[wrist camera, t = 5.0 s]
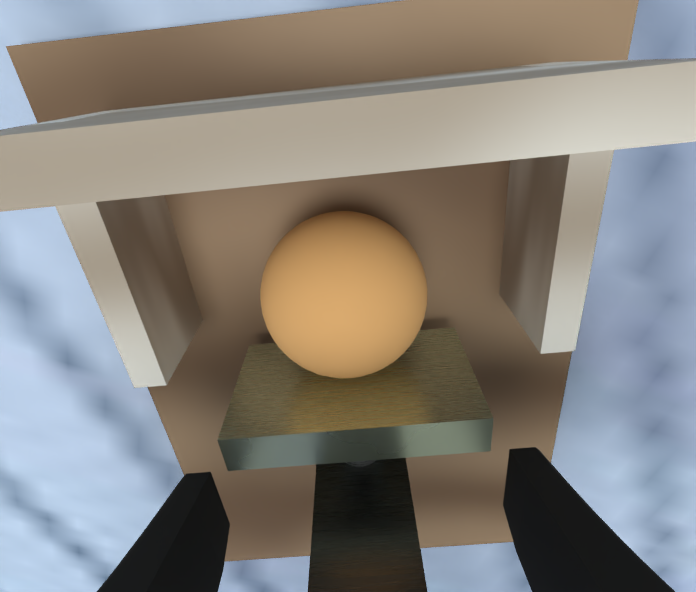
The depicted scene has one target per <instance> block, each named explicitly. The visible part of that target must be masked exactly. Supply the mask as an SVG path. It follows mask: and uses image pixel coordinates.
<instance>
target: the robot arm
mask: <svg viewBox="0 0 696 592" xmlns="http://www.w3.org/2000/svg"><path fill="white" fill-rule="evenodd" d="M503 507H504V510H505V514H506V518H507V521H508V525H509V528H510V532H511V535H512V539H513V542H514V545H515V549H516V552H517V554H518V557H519V559H520V562H521V564H522V567H523V570H524V572H525V575H526V577H527V580H528V582H529V585H530V587H531V590H532V592H675V591H674V590H673V589H672V588H671V587H670V586H669V585H667V584H666V583H665V582H664V581H663V580H662V579H661V578H660V577H659V576H658V575H657V574H656V573H655V572H654V571H653V570H652V569H651V568H650V567H649V566H648V565H647V564H646V563H644V562H643V561H642V560H641V559H640V558H639V557H638V556H637V555H636V554H635V553H634V552H633V551H632V550H631V549H630V548H629V547H628V546H627V545H626V544H625V543H624V542H623V541H622V540H621V539H620V538H619V537H618V536H617V535H616V534H615V532H614V531H613V530H612V529H611V528H610V527H609V526H608V525H607V524H606V523H605V522H604V521H603V520H602V519H601V518H600V517H599V516H598V515H597V514H596V513H595V512H594V511H593V510H592V508H591V507H590V506H589V505H588V504H587V503H586V502H585V501H584V500H583V499H582V498H581V497H580V495H579V494H578V493H577V492H576V491H575V490H574V489H573V488H572V487H571V486H570V484H569V483H568V482H567V481H566V480H565V479H564V478H563V477H562V475H561V474H560V473H559V472H558V471H557V470H556V469H555V467H554V466H553V465H552V464H551V463H550V462H549V461H548V459H547V458H546V457H545V456H544V455H543V454H542V452H541V451H540V450H539V449H537V448H536V447H529V448H516V449H510V450H509V458H508V466H507V474H506V483H505V491H504V499H503ZM229 528H230V523H229V520H228V517H227V514H226V512H225V509H224V506H223V504H222V501H221V498H220V495H219V493H218V490H217V487H216V485H215V482H214V479H213V477H212V474H211V472H201V473H187V474H185V476H184V477H183V478H182V479H181V481H180V482H179V483H178V485H177V486H176V488H175V489H174V490H173V492H172V493H171V494H170V496H169V497H168V499H167V500H166V501H165V503H164V504H163V506H162V507H161V508H160V510H159V511H158V513H157V514H156V515H155V517H154V518H153V519H152V521H151V522H150V523H149V525H148V526H147V528H146V529H145V530H144V532H143V533H142V534H141V536H140V537H139V538H138V540H137V541H136V542H135V544H134V545H133V546H132V548H131V549H130V550H129V551H128V553H127V554H126V555H125V557H124V558H123V559H122V561H121V562H120V563H119V565H118V566H117V567H116V569H115V570H114V571H113V572H112V574H111V575H110V576H109V577H108V579H107V580H106V581H105V582H104V584H103V585H102V586H101V587H100V588H99V590H98V591H97V592H218V588H219V584H220V580H221V576H222V572H223V567H224V561H225V555H226V549H227V542H228V535H229Z"/></svg>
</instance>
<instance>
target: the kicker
mask: <svg viewBox="0 0 696 592" xmlns="http://www.w3.org/2000/svg"><path fill="white" fill-rule="evenodd" d="M493 419H494V418H493V416H492V414H491V411H490V409H489V407H488V404H487V402H486V400H485V397H484V395H483V393H482V390H481V388H480V386H479V383H478V381H477V379H476V376H475V374H474V372H473V369H472V367H471V365H470V362H469V360H468V358H467V355H466V353H465V351H464V348H463V346H462V344H461V341H460V339H459V337H458V334H457V332H456V330H455V327H452V328H441V329H429V330H419V332H418V334H417V336H416V338H415V339H414V341H413V342H412V344H411V345H410V346H409V348H408V349H407V350H406V351H405V352H404V353H403V354H402V355H401V356H400V357H399V358H398V359H397V360H395V361H394V362H393V363H391V364H390V365H388V366H386V367H385V368H383V369H381V370H379V371H377V372H375V373H372V374H368V375H365V376H361V377H356V378H333V377H327V376H322V375H319V374H316V373H313V372H311V371H309V370H307V369H304V368H303V367H301V366H299V365H298V364H297V363H295V362H294V361H292V360H291V359H290V358H289V357H288V356H287V355H286V354H285V353H284V352H283V351H282V350H281V349H280V348H279V347H278V345H277V344H276V343H268V344H257V345H249V348H248V351H247V354H246V357H245V359H244V362H243V365H242V368H241V371H240V374H239V377H238V380H237V383H236V386H235V389H234V392H233V395H232V398H231V401H230V404H229V407H228V410H227V413H226V416H225V419H224V422H223V425H222V428H221V431H220V434H219V437H218V440H217V441H218V444H219V447H220V450H221V452H222V455H223V458H224V461H225V464H226V467H227V470H228V471H237V470H250V469H263V468H276V467H289V466H302V465H316V478H315V493H314V508H313V523H312V538H311V553H310V568H309V582H308V592H427V587H426V581H425V575H424V569H423V562H422V556H421V550H420V544H419V538H418V531H417V525H416V519H415V513H414V506H413V500H412V494H411V488H410V482H409V475H408V469H407V463H406V458H408V457H421V456H434V455H447V454H460V453H473V452H487V451H491V441H492V430H493Z"/></svg>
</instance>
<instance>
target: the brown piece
mask: <svg viewBox="0 0 696 592" xmlns="http://www.w3.org/2000/svg"><path fill="white" fill-rule="evenodd" d="M638 1H639V0H404V1H395V2H386V3H378V4H369V5H360V6H352V7H343V8H335V9H326V10H317V11H309V12H300V13H291V14H283V15H274V16H265V17H257V18H248V19H239V20H231V21H222V22H213V23H205V24H196V25H187V26H179V27H170V28H162V29H153V30H144V31H136V32H127V33H118V34H110V35H101V36H92V37H84V38H75V39H66V40H58V41H49V42H40V43H32V44H23V45H15V46H6V48H7V50H8V53H9V55H10V57H11V60H12V62H13V65H14V67H15V69H16V72H17V74H18V77H19V79H20V81H21V84H22V86H23V89H24V91H25V93H26V96H27V98H28V101H29V103H30V105H31V108H32V110H33V113H34V115H35V118H36V120H37V122H38V123H36V124H30V125H25V126H19V127H14V128H8V129H3V130H0V212H1V211H11V210H21V209H31V208H41V207H51V206H56V209H57V211H58V213H59V216H60V218H61V220H62V223H63V225H64V227H65V229H66V232H67V234H68V236H69V239H70V241H71V243H72V246H73V248H74V250H75V252H76V255H77V257H78V259H79V262H80V264H81V266H82V269H83V271H84V273H85V275H86V278H87V280H88V282H89V285H90V287H91V289H92V291H93V294H94V296H95V298H96V301H97V303H98V305H99V308H100V310H101V312H102V314H103V317H104V319H105V321H106V324H107V326H108V328H109V331H110V333H111V335H112V337H113V340H114V342H115V344H116V347H117V349H118V351H119V353H120V356H121V358H122V360H123V363H124V365H125V367H126V370H127V372H128V374H129V376H130V379H131V381H132V383H133V386H134V388H140V387H148V389H149V392H150V394H151V396H152V399H153V401H154V404H155V406H156V409H157V411H158V413H159V416H160V418H161V421H162V423H163V425H164V428H165V430H166V433H167V435H168V437H169V440H170V442H171V445H172V447H173V449H174V452H175V454H176V457H177V459H178V461H179V464H180V466H181V469H182V471H183V473H184V476H185V474H187V473H201V472H211V474H212V477H213V479H214V482H215V485H216V487H217V490H218V493H219V495H220V498H221V501H222V504H223V506H224V509H225V512H226V514H227V517H228V520H229V523H230V528H229V535H228V542H227V549H226V555H225V561H238V560H252V559H267V558H282V557H296V556H310V553H311V538H312V523H313V508H314V493H315V478H316V465H302V466H289V467H276V468H263V469H250V470H237V471H228V470H227V467H226V464H225V461H224V458H223V455H222V452H221V450H220V447H219V444H218V441H217V440H218V437H219V434H220V431H221V428H222V425H223V422H224V419H225V416H226V413H227V410H228V407H229V404H230V401H231V398H232V395H233V392H234V389H235V386H236V383H237V380H238V377H239V374H240V371H241V368H242V365H243V362H244V359H245V357H246V354H247V351H248V348H249V345H257V344H268V343H275V341H274V340H273V338H272V337H271V335H270V333H269V331H268V329H267V326H266V323H265V320H264V317H263V314H262V308H261V300H260V288H261V282H262V275H263V272H264V269H265V266H266V263H267V261H268V258H269V257H270V255H271V253H272V251H273V250H274V248H275V246H276V245H277V244H278V243H279V242H280V240H281V239H282V238H283V237H284V236H285V235H286V234H287V233H288V232H289V231H290V230H292V229H293V228H294V227H295V226H297V225H298V224H300V223H302V222H303V221H305V220H307V219H309V218H312V217H315V216H317V215H320V214H324V213H328V212H335V211H353V212H359V213H363V214H367V215H371V216H373V217H376V218H378V219H380V220H382V221H384V222H386V223H388V224H389V225H391V226H392V227H394V228H395V229H396V230H397V231H398V232H400V233H401V234H402V235H403V236H404V237H405V238H406V239H407V240H408V242H409V243H410V244H411V246H412V247H413V249H414V250H415V251H416V253H417V255H418V257H419V260H420V262H421V264H422V266H423V269H424V273H425V277H426V282H427V307H426V312H425V317H424V320H423V323H422V326H421V328H420V330H429V329H441V328H452V327H455V330H456V332H457V334H458V337H459V339H460V341H461V344H462V346H463V348H464V351H465V353H466V355H467V358H468V360H469V362H470V365H471V367H472V369H473V372H474V374H475V376H476V379H477V381H478V383H479V386H480V388H481V390H482V393H483V395H484V397H485V400H486V402H487V404H488V407H489V409H490V411H491V414H492V416H493V418H494V419H493V430H492V441H491V451H487V452H473V453H460V454H447V455H434V456H421V457H408V458H406V463H407V469H408V475H409V482H410V488H411V494H412V500H413V506H414V513H415V519H416V525H417V531H418V538H419V544H420V548H429V547H443V546H458V545H473V544H487V543H502V542H513V539H512V535H511V532H510V528H509V525H508V521H507V518H506V514H505V510H504V507H503V499H504V491H505V483H506V474H507V466H508V458H509V450H510V449H516V448H529V447H536V448H537V449H539V450H540V451H541V452H542V454H543V455H544V456H545V457H546V458H547V459H548V461H549V462H550V463H551V459H552V454H553V448H554V443H555V438H556V433H557V427H558V422H559V417H560V411H561V406H562V401H563V396H564V390H565V385H566V380H567V375H568V369H569V364H570V359H571V354H572V351H575V348H576V343H577V338H578V333H579V328H580V322H581V317H582V312H583V307H584V302H585V297H586V291H587V286H588V281H589V276H590V271H591V266H592V261H593V255H594V250H595V245H596V240H597V235H598V230H599V225H600V219H601V214H602V209H603V204H604V199H605V194H606V188H607V183H608V178H609V173H610V168H611V163H612V158H613V152H614V150H616V149H626V148H636V147H646V146H656V145H666V144H676V143H685V142H695V141H696V58H691V59H653V60H627V59H628V54H629V48H630V43H631V38H632V33H633V27H634V22H635V17H636V12H637V6H638Z"/></svg>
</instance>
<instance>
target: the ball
mask: <svg viewBox="0 0 696 592" xmlns="http://www.w3.org/2000/svg"><path fill="white" fill-rule="evenodd" d="M260 300H261V308H262V314H263V317H264V320H265V323H266V326H267V329H268V331H269V333H270V335H271V337H272V338H273V340H274V341H275V343H276V344H277V345H278V347H279V348H280V349H281V350H282V351H283V352H284V353H285V354H286V355H287V356H288V357H289V358H290V359H291V360H292V361H294V362H295V363H297V364H298V365H299V366H301V367H303V368H304V369H307V370H309V371H311V372H313V373H316V374H319V375H322V376H327V377H333V378H356V377H361V376H365V375H368V374H372V373H375V372H377V371H379V370H381V369H383V368H385V367H386V366H388V365H390V364H391V363H393V362H394V361H395V360H397V359H398V358H399V357H400V356H401V355H402V354H403V353H404V352H405V351H406V350H407V349H408V348H409V346H410V345H411V344H412V342H413V341H414V339H415V338H416V336H417V334H418V332H419V330H420V328H421V326H422V323H423V320H424V317H425V312H426V307H427V282H426V277H425V273H424V269H423V266H422V264H421V262H420V260H419V257H418V255H417V253H416V251H415V250H414V249H413V247H412V246H411V244H410V243H409V242H408V240H407V239H406V238H405V237H404V236H403V235H402V234H401V233H400V232H398V231H397V230H396V229H395V228H394V227H392V226H391V225H389V224H388V223H386V222H384V221H382V220H380V219H378V218H376V217H373V216H371V215H367V214H363V213H359V212H353V211H335V212H328V213H324V214H320V215H317V216H315V217H312V218H309V219H307V220H305V221H303V222H302V223H300V224H298V225H297V226H295V227H294V228H293V229H292V230H290V231H289V232H288V233H287V234H286V235H285V236H284V237H283V238H282V239H281V240H280V242H279V243H278V244H277V245H276V246H275V248H274V250H273V251H272V253H271V255H270V257H269V258H268V261H267V263H266V266H265V269H264V272H263V275H262V282H261V288H260Z"/></svg>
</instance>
